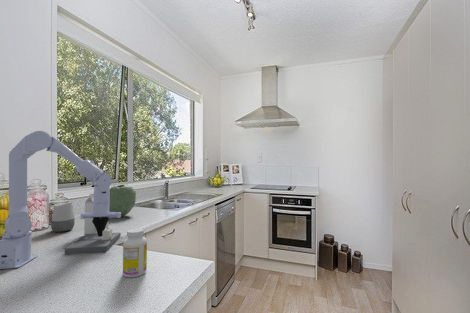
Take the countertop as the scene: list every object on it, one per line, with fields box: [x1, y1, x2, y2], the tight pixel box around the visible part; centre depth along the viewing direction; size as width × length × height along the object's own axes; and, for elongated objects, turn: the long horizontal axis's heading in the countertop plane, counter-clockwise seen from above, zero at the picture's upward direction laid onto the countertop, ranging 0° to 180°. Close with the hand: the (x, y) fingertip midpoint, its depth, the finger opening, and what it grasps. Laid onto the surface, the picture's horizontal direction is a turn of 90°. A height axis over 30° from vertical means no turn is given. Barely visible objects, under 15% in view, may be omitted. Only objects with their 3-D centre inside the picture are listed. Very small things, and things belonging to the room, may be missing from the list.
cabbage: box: [109, 183, 137, 218], centre depth 146 cm, size 16×19×20 cm
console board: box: [64, 232, 121, 255], centre depth 95 cm, size 18×14×3 cm
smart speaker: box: [50, 201, 76, 233], centre depth 115 cm, size 10×9×14 cm
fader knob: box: [102, 227, 113, 240], centre depth 96 cm, size 4×2×4 cm, turn 11°
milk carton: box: [83, 193, 110, 236], centre depth 109 cm, size 7×7×19 cm
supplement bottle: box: [122, 227, 148, 278], centre depth 71 cm, size 7×7×13 cm
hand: (100, 235), depth 96 cm, fingers closed
